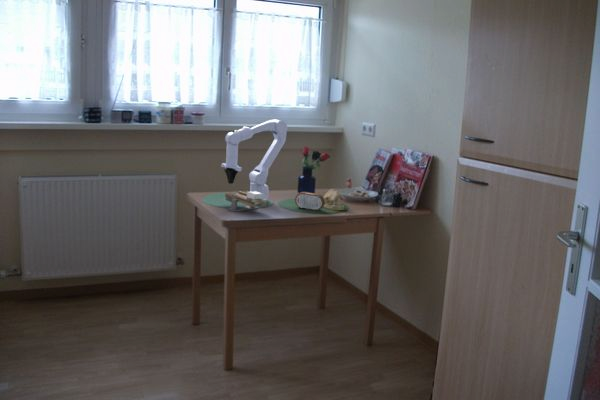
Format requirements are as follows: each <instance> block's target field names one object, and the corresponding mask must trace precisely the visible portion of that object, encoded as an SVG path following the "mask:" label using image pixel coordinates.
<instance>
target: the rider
mask: <svg viewBox="0 0 600 400" xmlns="http://www.w3.org/2000/svg"><path fill="white" fill-rule="evenodd" d="M246 193H247V199H248V200H251V201H252V200H260V199H263V193H260V192H257V191H250V190H249V191H247V192H246Z"/></svg>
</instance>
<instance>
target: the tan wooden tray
mask: <svg viewBox="0 0 600 400" xmlns="http://www.w3.org/2000/svg"><path fill="white" fill-rule="evenodd" d="M224 197H225V200H226V201H228V202H229V203H231V199H232V198H234V199H237V203H238V202H239V203H241V204H243V205H245V206H252V207H261V206H262V207H263V206H268V205H269V202H268V201H269V198H268V199H260V200H252V201H251V200H248V199H247V192H244V191H241V190H240V191H238V192H236V193H230V192H225V194H224Z"/></svg>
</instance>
